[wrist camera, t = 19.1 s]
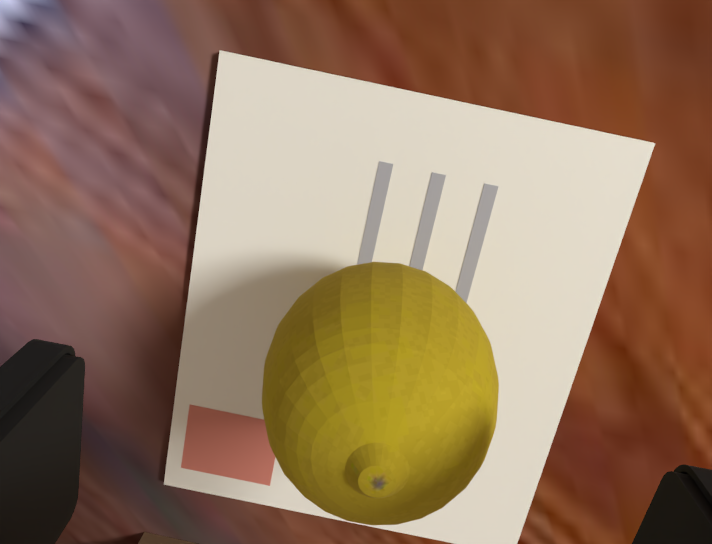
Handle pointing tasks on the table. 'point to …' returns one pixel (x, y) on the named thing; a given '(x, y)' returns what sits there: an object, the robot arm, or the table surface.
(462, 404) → the lemon
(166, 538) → the walnut block
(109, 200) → the table surface
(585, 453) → the table surface
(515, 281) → the letter
